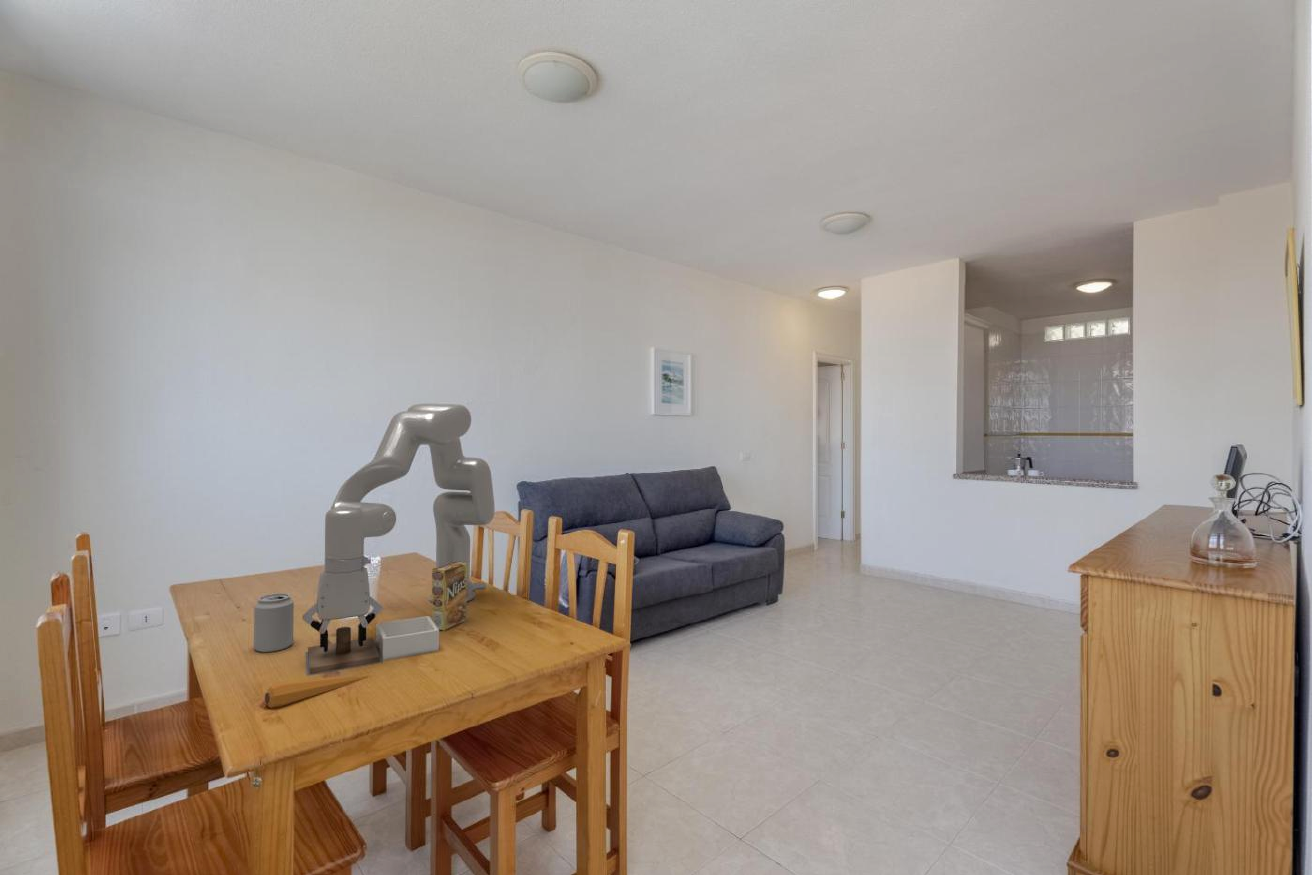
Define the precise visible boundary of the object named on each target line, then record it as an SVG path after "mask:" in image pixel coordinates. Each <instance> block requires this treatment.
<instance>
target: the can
mask: <svg viewBox="0 0 1312 875" xmlns="http://www.w3.org/2000/svg"><path fill="white" fill-rule="evenodd" d="M294 602H295V601H294V600H293V599H292V598H291V594H290V593H286V592H277V593H269V594H265V595H262V596H260V597H258V599H257V602H256V603H255V604H254V607H253V608H254V610H253V618H254V619H253V620H254V621H253V649H254V650H255V651H257V652H259V653H273V652H275V653H276V652H279V651H282V650H283V651H284V650H286V649H287V648H289V647H290V646H291V645H293V643H294V615H295V614H294V608H295V606H294V604H295V603H294Z"/></svg>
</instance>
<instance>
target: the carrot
mask: <svg viewBox="0 0 1312 875" xmlns="http://www.w3.org/2000/svg"><path fill="white" fill-rule="evenodd" d="M371 676H373V675H372V674H369V675H368V674H366V675H365V674H364V675H363V674H362V675H345V676H336V677H326V678H325V677H323V678H315V679H313V678H312V679H303V680H292V681H291V680H290V681H280V682H277V683H275V684H272V685H269V688H268V689H267V690H266V693H265V694H264V703H265V704H266V705H267V707H268V708H269V709H274V708H275V709H276V708H281V707H284V706H287V705H290V704H293V703H296V702H300V701H302V700H305V699H306V700H307V699H309V698H311V697H315V696H317V695H321V694H325V693H326V692H327V693H328V692H330V691H333V690H336V689H339V688H342V687H345V686H348V685H350V684H353V683H356V682H358V681H361V680H364V679H366V678H369V677H371Z"/></svg>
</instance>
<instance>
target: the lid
mask: <svg viewBox="0 0 1312 875" xmlns="http://www.w3.org/2000/svg"><path fill="white" fill-rule="evenodd" d="M335 630H336V633H335V634H336V635H335V637H336V638H335V643H334V642H333V643H328V651H327V652H324V647H320V645H315V646H308V647H307V652H308V661H309V674H314V673H319V672H325V671H331V670H337V669H342V668H348V667H354V666H360V665H365V664H371V663H377V662H380V657H381V655H380V656H379V654H380V652H379V649H378V647H377V648H376V646H377V644H376V641H375V640H374V637H372V636H371V637H366V641H363V646H359V643H358V639H354V640H351V639H352V638H351V637H352V636H351V635H352V634H351V633H352V631H351V630H352V628H351V627H349V626H342V627H338V628H336V629H335ZM374 641H375V642H374ZM375 644H376V645H375ZM377 649H378V650H377ZM378 652H379V653H378ZM377 664H378V663H377ZM360 667H361V666H360ZM337 671H338V670H337Z"/></svg>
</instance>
